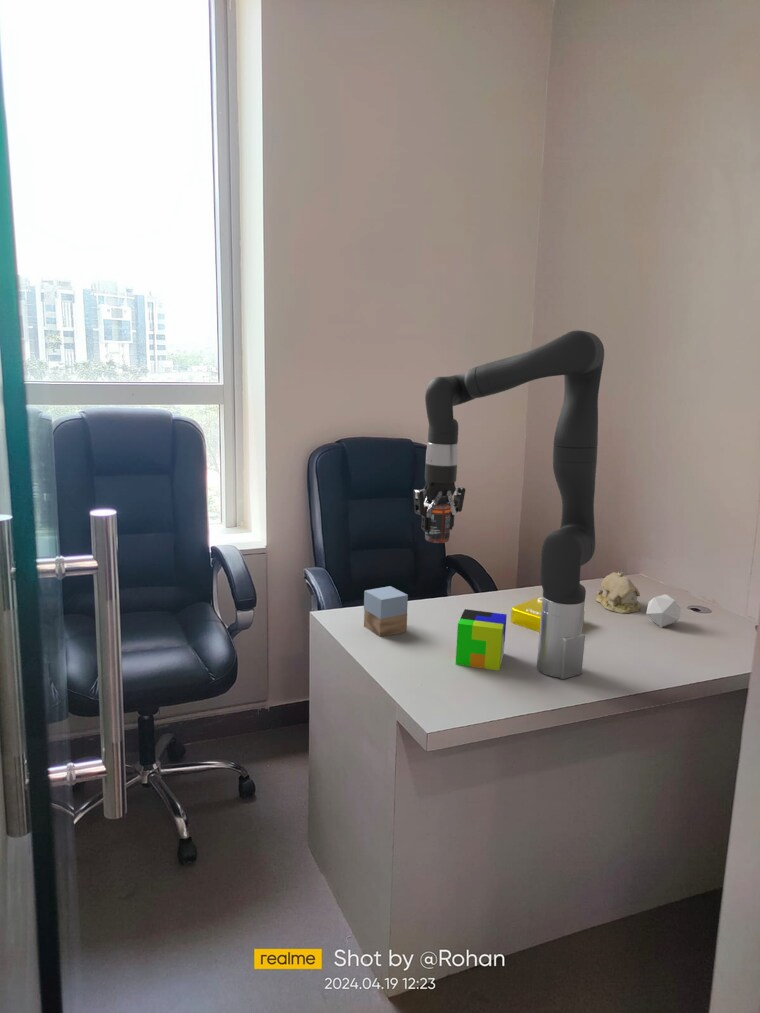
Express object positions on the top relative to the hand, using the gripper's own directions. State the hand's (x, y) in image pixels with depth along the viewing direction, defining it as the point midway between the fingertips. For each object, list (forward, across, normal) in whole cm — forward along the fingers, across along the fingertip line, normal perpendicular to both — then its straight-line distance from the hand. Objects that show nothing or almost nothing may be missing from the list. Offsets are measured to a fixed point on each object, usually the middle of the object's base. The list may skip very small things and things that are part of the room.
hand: (437, 530), depth 175 cm
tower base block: (+28, -7, +11) cm, 31 cm away
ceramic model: (+28, +63, -4) cm, 69 cm away
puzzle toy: (+28, +3, -15) cm, 32 cm away
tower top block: (+23, -7, +11) cm, 27 cm away
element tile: (+28, +34, -5) cm, 45 cm away
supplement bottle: (+3, 0, 0) cm, 3 cm away
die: (+28, +62, -20) cm, 71 cm away
